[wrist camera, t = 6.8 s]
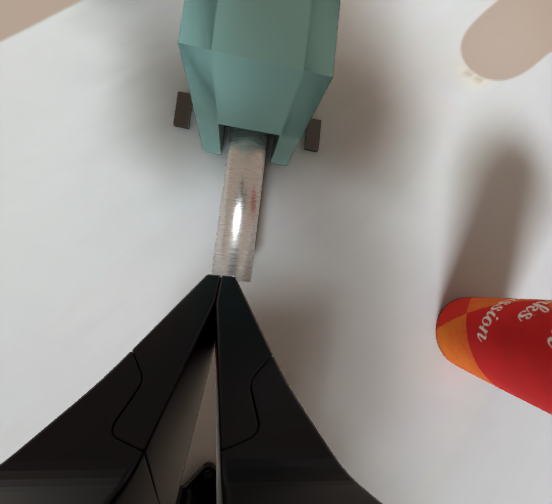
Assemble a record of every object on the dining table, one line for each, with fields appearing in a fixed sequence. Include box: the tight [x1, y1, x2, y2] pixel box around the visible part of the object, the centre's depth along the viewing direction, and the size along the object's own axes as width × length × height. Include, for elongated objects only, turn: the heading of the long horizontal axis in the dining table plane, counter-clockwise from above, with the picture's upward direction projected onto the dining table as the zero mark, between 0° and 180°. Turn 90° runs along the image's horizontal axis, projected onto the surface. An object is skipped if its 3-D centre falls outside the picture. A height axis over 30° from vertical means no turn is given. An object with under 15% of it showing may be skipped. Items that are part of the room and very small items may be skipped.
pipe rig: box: [174, 92, 321, 282], centre depth 18 cm, size 18×11×5 cm, turn 174°
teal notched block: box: [178, 0, 340, 165], centre depth 16 cm, size 6×6×10 cm
